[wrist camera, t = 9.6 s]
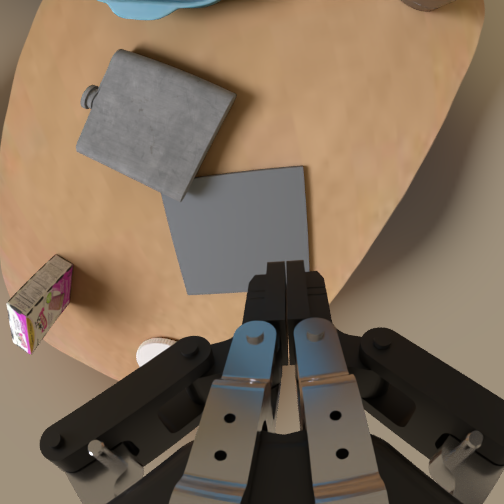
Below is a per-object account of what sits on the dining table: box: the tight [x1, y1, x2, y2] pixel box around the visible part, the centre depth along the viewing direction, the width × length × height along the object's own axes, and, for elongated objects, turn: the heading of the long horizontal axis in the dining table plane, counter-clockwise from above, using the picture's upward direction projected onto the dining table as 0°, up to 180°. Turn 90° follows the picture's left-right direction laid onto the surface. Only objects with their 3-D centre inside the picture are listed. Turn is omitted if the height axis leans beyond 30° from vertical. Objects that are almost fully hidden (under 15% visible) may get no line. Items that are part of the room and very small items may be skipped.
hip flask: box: [76, 49, 236, 202], centre depth 35 cm, size 16×4×20 cm
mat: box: [161, 166, 309, 295], centre depth 44 cm, size 19×20×1 cm
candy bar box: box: [7, 254, 73, 354], centre depth 44 cm, size 11×5×16 cm, turn 153°
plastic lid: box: [136, 338, 177, 367], centre depth 58 cm, size 14×14×2 cm
